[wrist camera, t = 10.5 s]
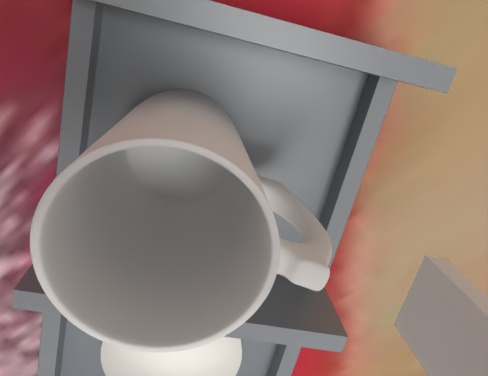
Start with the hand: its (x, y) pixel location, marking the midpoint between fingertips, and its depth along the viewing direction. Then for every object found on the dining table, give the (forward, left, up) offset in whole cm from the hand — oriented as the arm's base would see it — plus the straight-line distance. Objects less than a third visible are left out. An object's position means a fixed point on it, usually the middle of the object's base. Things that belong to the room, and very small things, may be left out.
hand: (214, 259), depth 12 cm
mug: (0, 0, -12) cm, 12 cm away
